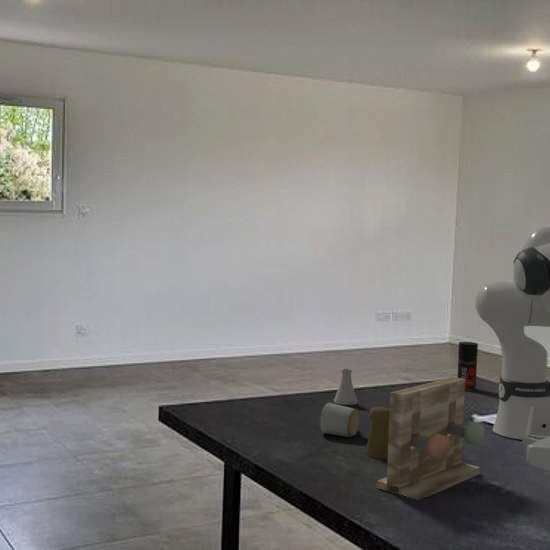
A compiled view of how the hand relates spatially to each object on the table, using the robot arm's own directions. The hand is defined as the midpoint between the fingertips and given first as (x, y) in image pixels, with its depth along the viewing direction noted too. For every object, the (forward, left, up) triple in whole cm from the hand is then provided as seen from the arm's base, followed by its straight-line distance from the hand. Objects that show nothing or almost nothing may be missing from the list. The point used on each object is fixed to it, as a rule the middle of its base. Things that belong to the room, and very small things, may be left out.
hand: (525, 439), depth 159 cm
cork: (+22, -28, -11) cm, 37 cm away
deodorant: (-25, -98, -11) cm, 101 cm away
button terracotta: (+19, -2, -3) cm, 20 cm away
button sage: (+9, -11, -3) cm, 14 cm away
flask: (+19, -79, -11) cm, 82 cm away
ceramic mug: (+28, -46, -11) cm, 55 cm away
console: (+16, -9, -11) cm, 22 cm away
